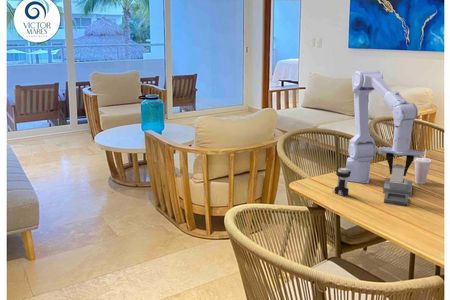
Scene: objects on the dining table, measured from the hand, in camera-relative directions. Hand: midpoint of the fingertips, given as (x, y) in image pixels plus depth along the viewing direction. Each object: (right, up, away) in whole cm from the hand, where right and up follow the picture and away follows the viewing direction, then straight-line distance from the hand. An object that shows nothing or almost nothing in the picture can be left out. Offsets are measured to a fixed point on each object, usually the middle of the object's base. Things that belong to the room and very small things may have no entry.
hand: (397, 174), depth 170 cm
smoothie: (+17, -5, +21) cm, 27 cm away
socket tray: (0, -10, +3) cm, 10 cm away
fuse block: (0, -2, 0) cm, 2 cm away
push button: (-19, -8, +8) cm, 22 cm away
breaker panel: (+5, -6, +13) cm, 16 cm away
